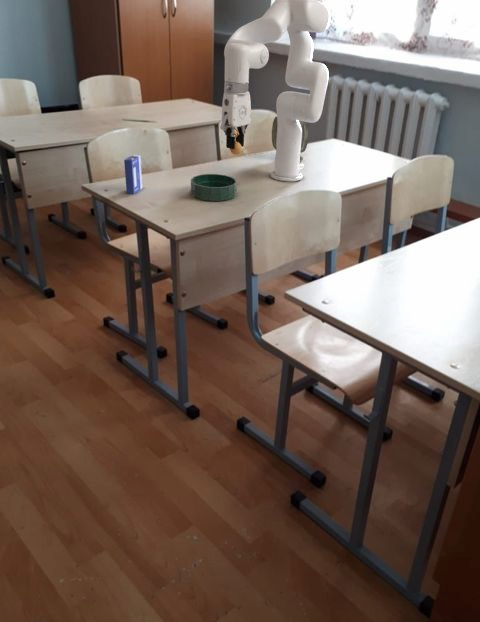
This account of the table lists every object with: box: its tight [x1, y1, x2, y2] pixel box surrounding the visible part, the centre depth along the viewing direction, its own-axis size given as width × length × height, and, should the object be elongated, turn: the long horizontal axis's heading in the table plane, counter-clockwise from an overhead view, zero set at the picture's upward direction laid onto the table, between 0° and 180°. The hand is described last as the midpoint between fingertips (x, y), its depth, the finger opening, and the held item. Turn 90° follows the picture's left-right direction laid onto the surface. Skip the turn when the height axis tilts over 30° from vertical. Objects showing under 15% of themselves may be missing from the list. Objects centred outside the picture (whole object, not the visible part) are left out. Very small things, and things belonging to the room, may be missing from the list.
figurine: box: [227, 122, 243, 155], centre depth 194 cm, size 8×6×12 cm
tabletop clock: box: [271, 115, 310, 161], centre depth 253 cm, size 14×9×25 cm, turn 102°
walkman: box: [123, 154, 143, 195], centre depth 209 cm, size 8×3×12 cm, turn 167°
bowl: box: [190, 173, 238, 202], centre depth 212 cm, size 16×16×5 cm
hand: (235, 146), depth 197 cm, fingers closed on figurine, 4 cm apart
